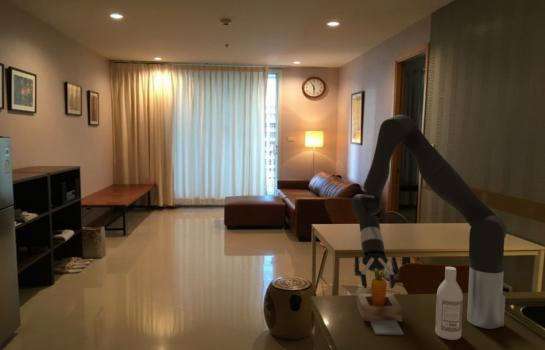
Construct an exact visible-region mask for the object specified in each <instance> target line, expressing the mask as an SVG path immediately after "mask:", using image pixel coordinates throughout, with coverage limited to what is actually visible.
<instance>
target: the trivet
mask: <svg viewBox="0 0 545 350" xmlns="http://www.w3.org/2000/svg"><path fill="white" fill-rule="evenodd" d="M369 323H370V326H371V327H372V329H373V333H374V334H375V335H376V336H403V335H404V331H403V330H402V328H401V326H400V325H399V323H398V321H396V320H370V321H369Z"/></svg>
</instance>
